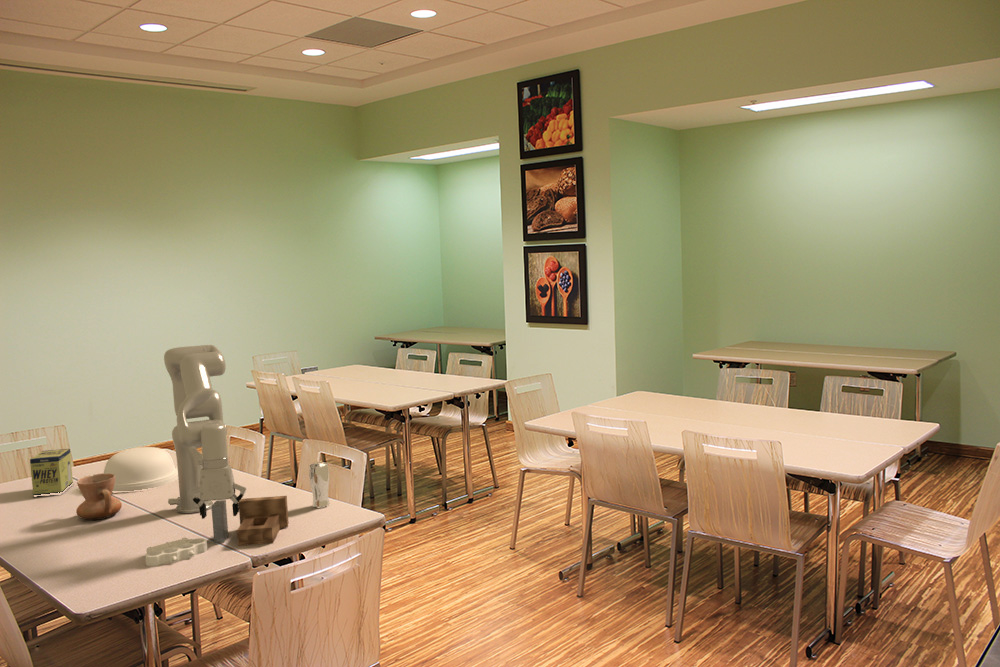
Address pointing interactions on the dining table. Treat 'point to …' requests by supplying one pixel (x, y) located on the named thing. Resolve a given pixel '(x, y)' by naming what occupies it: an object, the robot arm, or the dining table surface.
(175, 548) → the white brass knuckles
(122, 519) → the dining table surface
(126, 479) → the dome cover
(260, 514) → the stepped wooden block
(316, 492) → the beer glass
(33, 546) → the dining table surface
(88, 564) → the dining table surface
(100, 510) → the ceramic jug
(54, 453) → the protein box
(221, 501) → the grey rectangular block
